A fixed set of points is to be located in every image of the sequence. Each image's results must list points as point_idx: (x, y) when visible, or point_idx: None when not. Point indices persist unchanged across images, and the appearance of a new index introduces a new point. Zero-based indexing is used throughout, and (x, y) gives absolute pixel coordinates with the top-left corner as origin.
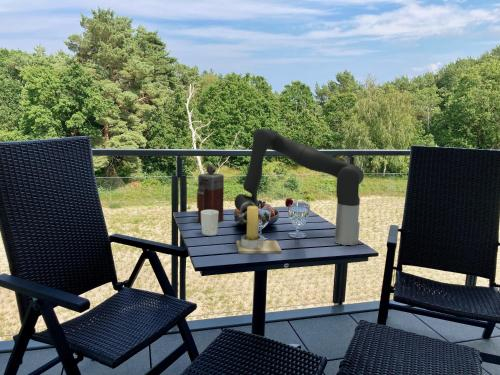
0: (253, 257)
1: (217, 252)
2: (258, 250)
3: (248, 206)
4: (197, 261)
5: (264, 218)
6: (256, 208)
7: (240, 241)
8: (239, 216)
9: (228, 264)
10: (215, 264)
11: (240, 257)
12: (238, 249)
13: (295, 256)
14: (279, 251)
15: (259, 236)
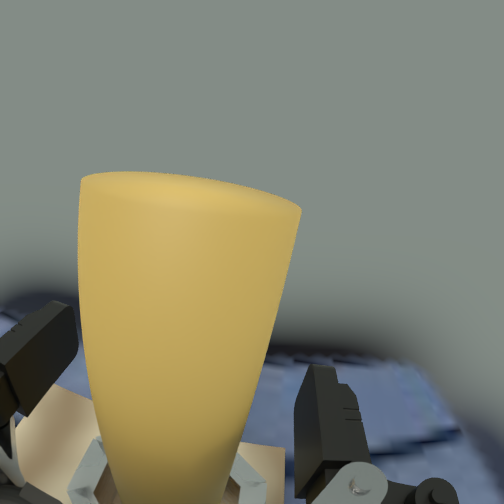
0: None
1: (391, 474)
2: None
3: (269, 215)
4: (432, 392)
5: (39, 310)
6: (158, 173)
7: None
8: (379, 471)
9: (327, 364)
10: (371, 370)
11: (276, 412)
12: (283, 470)
13: None
14: (60, 389)
15: (94, 493)
